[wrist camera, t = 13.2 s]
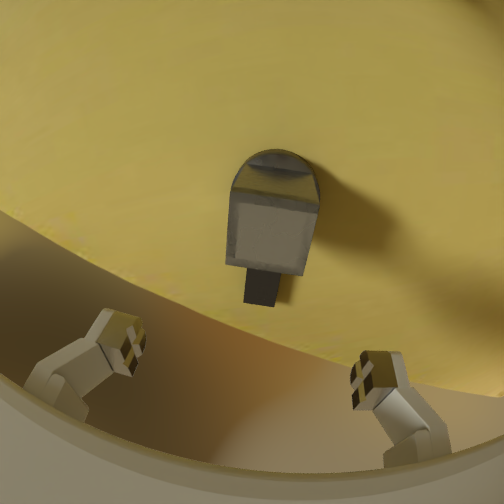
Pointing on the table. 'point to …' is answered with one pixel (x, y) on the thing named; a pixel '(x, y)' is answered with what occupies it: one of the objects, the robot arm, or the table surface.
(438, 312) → the table surface
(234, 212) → the socket
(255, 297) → the ratchet
